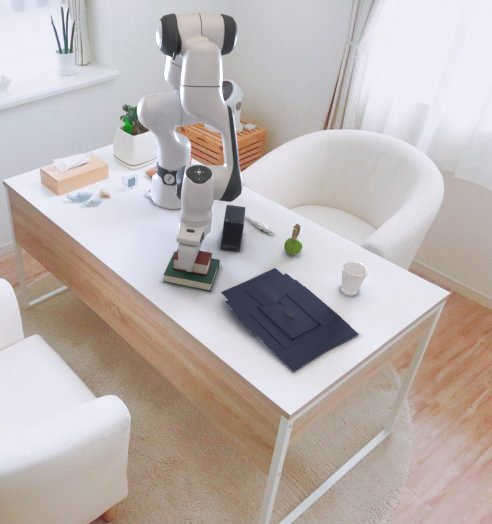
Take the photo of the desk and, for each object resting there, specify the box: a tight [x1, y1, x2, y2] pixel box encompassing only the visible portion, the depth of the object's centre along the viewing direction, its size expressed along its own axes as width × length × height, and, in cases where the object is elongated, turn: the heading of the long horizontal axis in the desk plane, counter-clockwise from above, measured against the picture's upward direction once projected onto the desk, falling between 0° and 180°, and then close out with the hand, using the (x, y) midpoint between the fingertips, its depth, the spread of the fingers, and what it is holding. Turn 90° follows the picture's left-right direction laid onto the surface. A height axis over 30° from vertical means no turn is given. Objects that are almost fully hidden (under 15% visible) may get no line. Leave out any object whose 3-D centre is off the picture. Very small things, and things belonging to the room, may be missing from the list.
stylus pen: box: [245, 214, 274, 236], centre depth 192 cm, size 15×3×2 cm, turn 36°
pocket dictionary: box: [173, 248, 213, 276], centre depth 167 cm, size 6×10×4 cm, turn 72°
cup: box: [340, 261, 368, 297], centre depth 163 cm, size 7×10×8 cm
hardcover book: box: [163, 251, 221, 293], centre depth 169 cm, size 12×14×3 cm
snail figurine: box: [283, 223, 303, 256], centre depth 176 cm, size 5×6×12 cm
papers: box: [220, 267, 360, 372], centre depth 154 cm, size 24×30×4 cm
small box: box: [219, 204, 246, 252], centre depth 181 cm, size 11×6×10 cm, turn 168°
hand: (192, 263), depth 168 cm, fingers closed on pocket dictionary, 6 cm apart
